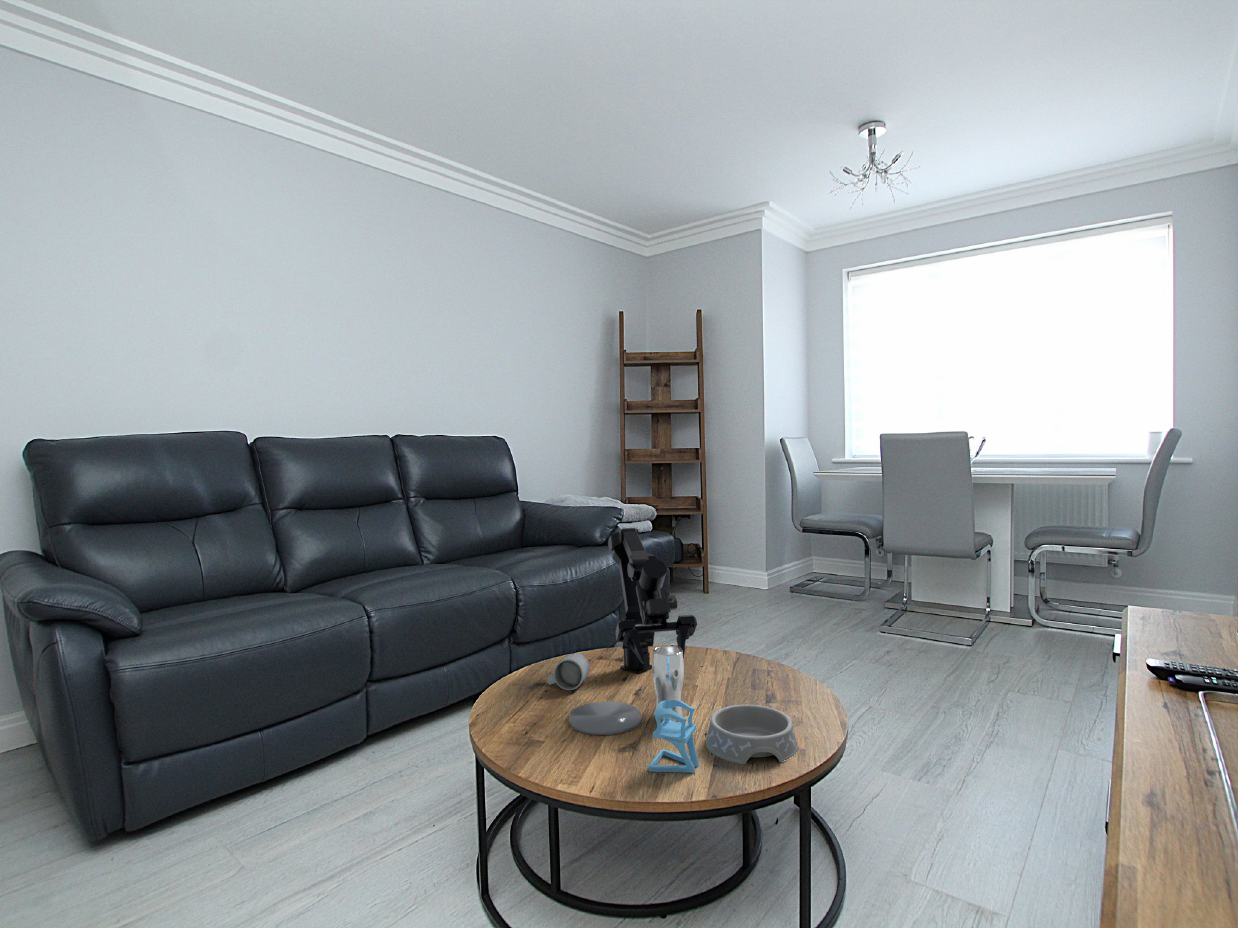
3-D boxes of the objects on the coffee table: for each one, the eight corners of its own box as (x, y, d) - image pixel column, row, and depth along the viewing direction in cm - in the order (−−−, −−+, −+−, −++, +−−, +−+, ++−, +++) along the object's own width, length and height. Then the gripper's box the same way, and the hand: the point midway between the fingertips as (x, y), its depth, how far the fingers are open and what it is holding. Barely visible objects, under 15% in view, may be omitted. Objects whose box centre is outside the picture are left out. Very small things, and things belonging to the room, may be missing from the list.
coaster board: (553, 721, 151) (553, 717, 151) (604, 700, 163) (604, 696, 163) (606, 742, 140) (606, 737, 140) (656, 717, 152) (656, 713, 152)
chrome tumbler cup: (686, 723, 148) (684, 654, 148) (653, 723, 149) (652, 655, 148) (683, 710, 155) (682, 645, 155) (652, 711, 155) (651, 645, 155)
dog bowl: (810, 762, 130) (810, 734, 130) (715, 768, 129) (714, 740, 128) (783, 725, 147) (782, 700, 147) (698, 730, 146) (697, 705, 145)
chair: (690, 779, 124) (690, 714, 124) (647, 771, 127) (646, 707, 127) (702, 760, 131) (701, 698, 131) (661, 753, 134) (660, 693, 134)
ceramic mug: (591, 679, 177) (590, 650, 177) (583, 691, 169) (582, 660, 169) (552, 678, 179) (550, 649, 179) (542, 689, 171) (540, 659, 171)
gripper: (616, 585, 159) (627, 646, 148) (694, 580, 162) (709, 639, 152) (611, 611, 167) (621, 671, 156) (685, 606, 170) (699, 664, 160)
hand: (663, 661), depth 156 cm, fingers open, 9 cm apart
